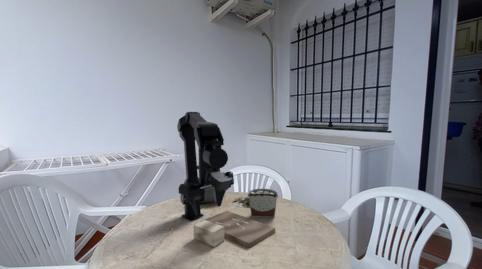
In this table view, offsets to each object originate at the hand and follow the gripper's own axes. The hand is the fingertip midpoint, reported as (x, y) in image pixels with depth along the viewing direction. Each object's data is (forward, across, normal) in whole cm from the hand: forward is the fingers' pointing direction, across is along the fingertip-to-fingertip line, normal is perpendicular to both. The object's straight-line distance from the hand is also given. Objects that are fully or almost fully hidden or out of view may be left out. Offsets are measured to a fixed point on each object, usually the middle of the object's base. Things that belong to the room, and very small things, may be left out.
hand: (208, 210), depth 78 cm
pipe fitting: (+10, +23, +28) cm, 38 cm away
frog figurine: (+11, +34, +14) cm, 38 cm away
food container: (+10, +29, 0) cm, 31 cm away
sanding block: (+10, 0, 0) cm, 10 cm away
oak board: (+10, +12, -1) cm, 16 cm away
